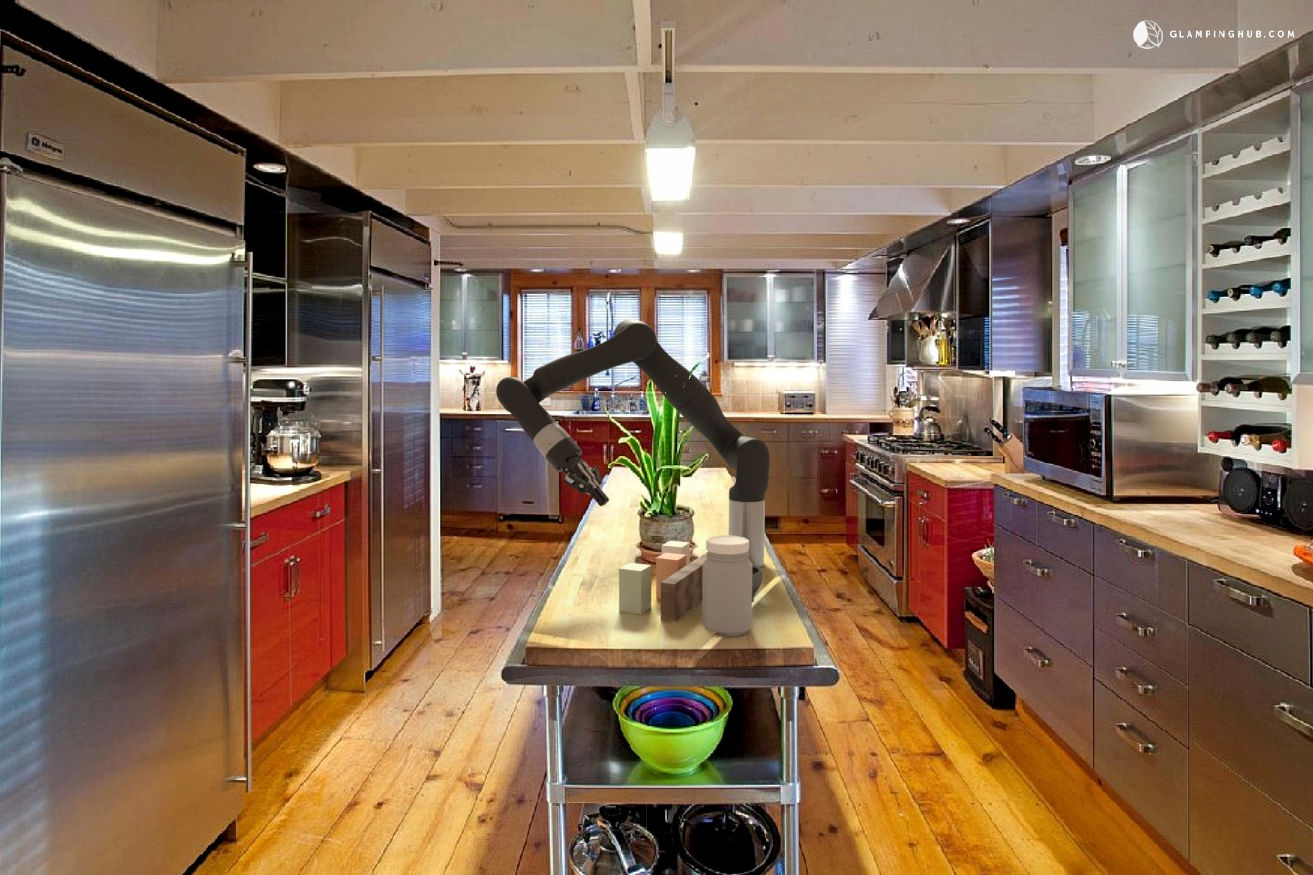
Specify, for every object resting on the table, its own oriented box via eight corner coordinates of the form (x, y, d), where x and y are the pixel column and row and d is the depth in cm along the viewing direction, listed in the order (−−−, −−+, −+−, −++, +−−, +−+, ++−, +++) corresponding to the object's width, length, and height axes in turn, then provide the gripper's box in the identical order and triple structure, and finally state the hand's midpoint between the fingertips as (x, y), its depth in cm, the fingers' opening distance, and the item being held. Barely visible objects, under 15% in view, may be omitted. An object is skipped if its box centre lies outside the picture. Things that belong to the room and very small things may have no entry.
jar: (747, 621, 156) (748, 534, 155) (755, 638, 147) (756, 545, 145) (699, 621, 156) (700, 534, 154) (704, 638, 146) (705, 545, 145)
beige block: (670, 577, 183) (670, 540, 182) (689, 580, 181) (689, 542, 180) (661, 583, 178) (661, 545, 178) (681, 585, 176) (681, 547, 176)
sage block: (629, 604, 163) (629, 562, 162) (651, 607, 161) (651, 565, 160) (619, 611, 158) (618, 568, 158) (641, 614, 156) (641, 571, 156)
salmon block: (665, 592, 172) (665, 552, 171) (686, 594, 170) (686, 554, 169) (656, 598, 167) (656, 557, 166) (677, 601, 165) (677, 560, 164)
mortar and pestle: (716, 593, 175) (717, 541, 174) (757, 593, 175) (758, 541, 174) (721, 609, 164) (722, 554, 163) (765, 609, 164) (766, 554, 163)
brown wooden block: (655, 579, 186) (655, 542, 185) (723, 587, 179) (724, 550, 178) (596, 616, 159) (596, 574, 158) (674, 628, 152) (674, 583, 151)
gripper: (552, 438, 169) (602, 497, 165) (581, 433, 181) (628, 488, 178) (531, 461, 172) (580, 519, 168) (562, 454, 184) (608, 509, 180)
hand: (605, 503), depth 173 cm, fingers closed
